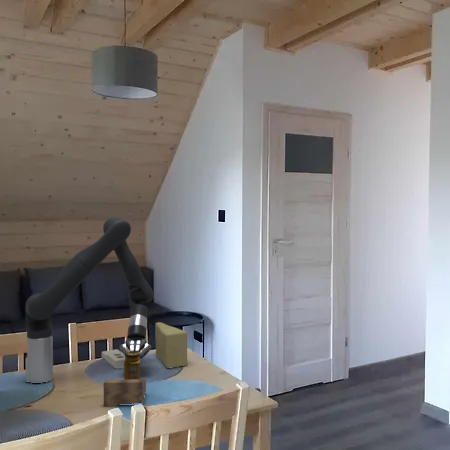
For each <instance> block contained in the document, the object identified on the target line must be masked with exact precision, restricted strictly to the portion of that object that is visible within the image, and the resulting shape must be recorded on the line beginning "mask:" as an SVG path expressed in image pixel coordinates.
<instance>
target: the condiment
mask: <svg viewBox="0 0 450 450" xmlns="http://www.w3.org/2000/svg"><path fill="white" fill-rule="evenodd" d="M127 352H128V351H127ZM128 379H141V360H140V359H139V353H137V352H130V351H129V352H128V353H126V354H125V361H124V368H123V380H128Z"/></svg>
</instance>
